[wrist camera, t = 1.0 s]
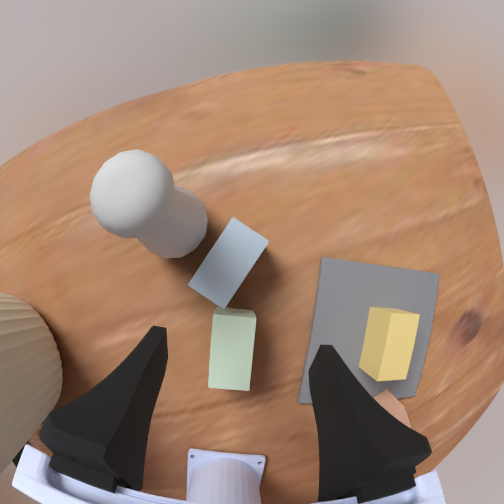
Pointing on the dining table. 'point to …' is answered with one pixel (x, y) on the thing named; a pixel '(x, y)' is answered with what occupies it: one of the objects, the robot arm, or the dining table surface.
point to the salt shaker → (147, 205)
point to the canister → (25, 374)
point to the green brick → (231, 348)
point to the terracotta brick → (393, 406)
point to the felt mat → (356, 317)
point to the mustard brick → (388, 343)
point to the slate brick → (228, 263)
